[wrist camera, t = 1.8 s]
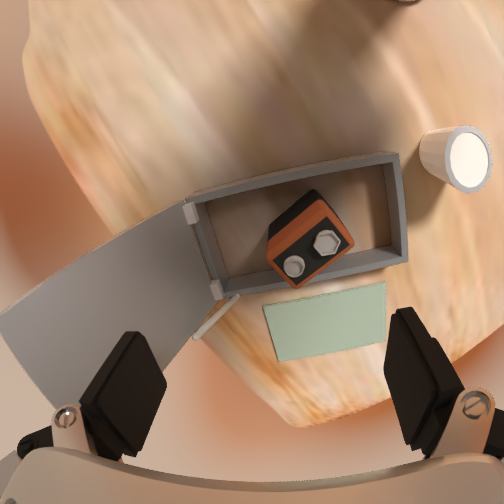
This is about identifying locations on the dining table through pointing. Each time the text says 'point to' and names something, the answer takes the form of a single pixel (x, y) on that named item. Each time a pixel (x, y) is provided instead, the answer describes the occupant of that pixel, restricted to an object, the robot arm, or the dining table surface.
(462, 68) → the dining table surface
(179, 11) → the dining table surface
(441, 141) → the shot glass
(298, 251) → the battery
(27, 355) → the case lid
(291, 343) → the rubber mat
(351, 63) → the dining table surface
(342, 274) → the case
